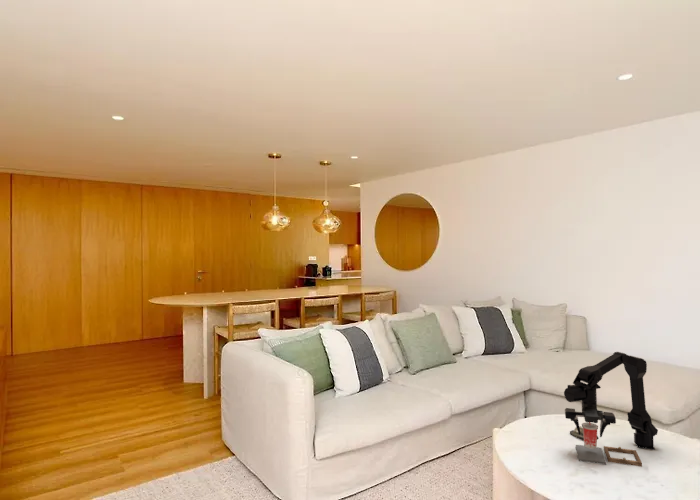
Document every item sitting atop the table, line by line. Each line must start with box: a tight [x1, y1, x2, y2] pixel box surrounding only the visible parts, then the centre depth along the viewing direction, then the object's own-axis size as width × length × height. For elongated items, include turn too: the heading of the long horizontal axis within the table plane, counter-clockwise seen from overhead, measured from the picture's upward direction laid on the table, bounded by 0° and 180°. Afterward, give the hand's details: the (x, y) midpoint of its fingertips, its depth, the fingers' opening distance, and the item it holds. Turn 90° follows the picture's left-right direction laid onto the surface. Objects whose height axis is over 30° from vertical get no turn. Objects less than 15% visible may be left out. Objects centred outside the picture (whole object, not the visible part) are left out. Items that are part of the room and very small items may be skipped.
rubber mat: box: [575, 444, 607, 465], centre depth 189 cm, size 10×14×1 cm
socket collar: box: [603, 445, 643, 468], centre depth 186 cm, size 12×12×2 cm
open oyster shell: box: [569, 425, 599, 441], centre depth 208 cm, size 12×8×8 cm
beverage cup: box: [581, 421, 599, 449], centre depth 189 cm, size 6×6×14 cm
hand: (590, 435), depth 189 cm, fingers closed on beverage cup, 8 cm apart
